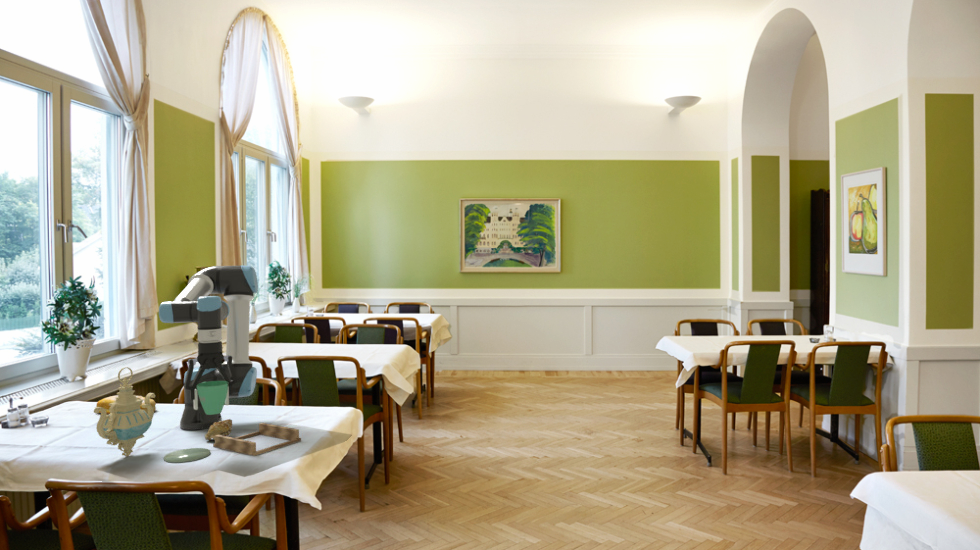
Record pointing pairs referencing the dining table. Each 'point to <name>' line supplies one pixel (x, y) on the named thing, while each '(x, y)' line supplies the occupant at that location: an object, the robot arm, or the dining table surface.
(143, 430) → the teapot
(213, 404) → the mug
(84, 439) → the dining table surface
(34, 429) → the dining table surface
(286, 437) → the oak frame
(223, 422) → the seashell
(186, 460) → the coaster
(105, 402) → the bread
